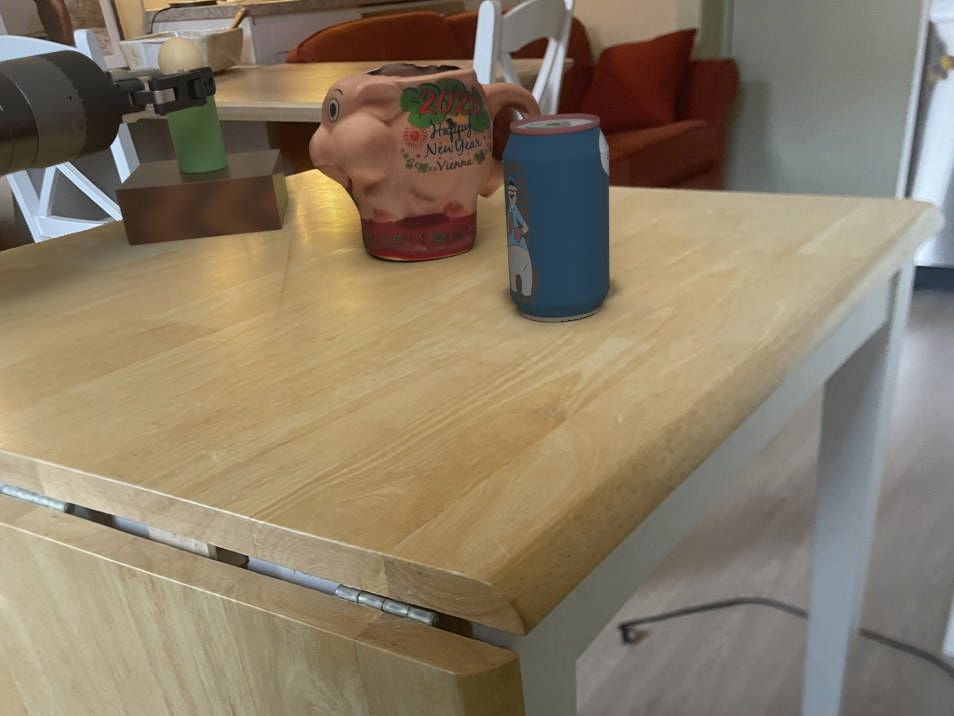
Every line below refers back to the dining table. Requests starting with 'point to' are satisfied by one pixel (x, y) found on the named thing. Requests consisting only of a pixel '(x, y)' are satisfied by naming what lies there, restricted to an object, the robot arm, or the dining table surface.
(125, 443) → the dining table surface
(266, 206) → the walnut block
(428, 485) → the dining table surface
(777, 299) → the dining table surface
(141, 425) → the dining table surface
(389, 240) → the pink ceramic mug
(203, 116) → the peg doll
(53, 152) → the robot arm
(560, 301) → the soda can
